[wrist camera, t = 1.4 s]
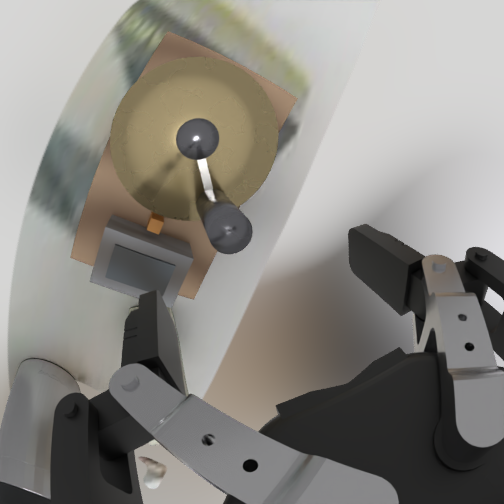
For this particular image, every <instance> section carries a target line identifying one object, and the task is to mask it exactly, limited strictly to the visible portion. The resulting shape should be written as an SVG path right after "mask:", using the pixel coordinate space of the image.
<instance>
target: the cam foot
mask: <svg viewBox="0 0 504 504" xmlns="http://www.w3.org/2000/svg"><path fill="white" fill-rule="evenodd" d="M277 146H278V124H277V119H276V115H275V111H274V108H273V106H272V103H271V101H270V99H269V97H268V96H267V94H266V92H265V91H264V90H263V88H262V87H261V86H260V84H259V83H258V82H257V81H256V80H255V79H254V78H253V77H252V76H250V75H249V74H248V73H246V72H245V71H244V70H242V69H240V68H239V67H237V66H235V65H233V64H231V63H228V62H225V61H223V60H219V59H214V58H208V57H187V58H181V59H176V60H173V61H170V62H167V63H164V64H162V65H160V66H158V67H156V68H154V69H153V70H151V71H149V72H148V73H146V74H145V75H144V76H142V77H141V78H140V79H139V80H138V81H137V82H136V83H135V84H134V85H133V86H132V87H131V88H130V89H129V90H128V92H127V93H126V95H125V96H124V97H123V99H122V101H121V103H120V105H119V106H118V108H117V111H116V113H115V116H114V119H113V123H112V128H111V135H110V150H111V157H112V162H113V166H114V168H115V171H116V174H117V176H118V178H119V180H120V181H121V183H122V185H123V186H124V188H125V189H126V190H127V192H128V193H129V194H130V195H131V196H132V197H133V198H134V199H135V200H136V201H137V202H138V203H140V204H141V205H142V206H144V207H145V208H147V209H148V210H150V211H152V212H154V213H156V214H158V215H161V216H163V217H167V218H170V219H175V220H182V221H199V220H201V221H202V224H203V226H204V229H205V231H206V233H207V236H208V238H209V240H210V243H211V245H212V246H213V247H214V248H215V249H216V250H217V251H219V252H221V253H224V254H234V253H237V252H239V251H241V250H243V249H244V248H245V247H246V246H247V245H248V243H249V242H250V240H251V237H252V225H251V223H250V221H249V220H248V219H247V217H246V216H245V215H244V214H243V213H242V212H241V211H240V210H239V209H238V208H237V207H239V206H240V205H242V204H243V203H244V202H246V201H247V200H248V199H249V198H250V197H251V196H252V195H253V194H254V193H255V192H256V191H257V190H258V189H259V188H260V186H261V185H262V184H263V182H264V181H265V179H266V178H267V176H268V174H269V172H270V170H271V168H272V165H273V163H274V160H275V156H276V152H277Z"/></svg>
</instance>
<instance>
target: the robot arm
mask: <svg viewBox="0 0 504 504" xmlns="http://www.w3.org/2000/svg"><path fill="white" fill-rule="evenodd" d="M348 239H349V264H350V267H351V269H352V271H353V273H354V274H355V275H356V276H357V277H358V278H359V279H361V280H362V281H363V282H364V283H365V284H366V285H367V286H369V287H370V288H371V289H372V290H373V291H374V292H375V293H376V294H378V295H379V296H380V297H381V298H382V299H383V300H384V301H385V302H387V303H388V304H389V305H390V306H391V307H392V308H393V309H394V310H395V311H396V312H397V313H398V314H399V315H401V316H402V315H404V314H406V313H408V312H409V311H413V317H412V323H413V335H414V353H410V354H405V353H404V352H403V351H402V349H401V348H400V347H399V348H397V349H395V350H394V351H392V352H390V353H388V354H387V355H385V356H383V357H381V358H379V359H377V360H375V361H374V362H372V363H371V364H370V365H369V366H368V367H367V368H366V369H365V370H363V371H362V372H361V373H360V374H359V375H358V376H357V377H355V378H354V379H353V380H352V381H350V382H349V383H347V384H344V385H340V386H336V387H331V388H327V389H321V390H316V391H312V392H309V393H306V394H303V395H301V396H298V397H296V398H294V399H291V400H288V401H286V402H283V403H280V404H278V405H276V408H277V412H278V415H277V416H276V417H274V418H273V419H272V420H270V421H269V422H268V423H267V424H265V425H264V426H263V427H262V428H261V429H260V430H259V431H258V432H257V431H255V430H253V429H251V428H250V427H248V426H246V425H244V424H242V423H240V422H238V421H237V420H235V419H233V418H231V417H230V416H228V415H226V414H225V413H223V412H221V411H220V410H218V409H216V408H215V407H213V406H211V405H210V404H208V403H206V402H205V401H203V400H202V399H200V398H198V397H197V396H195V395H193V394H189V395H188V396H186V392H185V386H184V380H183V374H182V367H181V360H180V353H179V345H178V338H177V332H176V328H175V325H174V322H173V320H172V318H171V316H170V313H169V311H168V309H167V307H166V305H165V302H164V300H163V298H162V296H161V293H160V292H159V290H154V291H151V292H148V293H144V294H141V295H140V296H139V308H138V309H136V310H133V311H131V312H130V314H129V316H128V317H127V319H126V321H125V329H124V331H125V332H124V340H123V350H122V363H121V368H120V369H119V370H117V371H116V372H115V373H114V375H113V376H112V378H111V380H110V382H109V389H108V390H107V391H105V392H103V393H101V394H99V395H98V396H96V397H94V398H92V399H90V400H88V399H87V398H86V397H85V396H84V395H83V394H81V393H80V388H79V386H78V384H77V382H76V381H75V379H74V378H73V377H72V376H71V375H70V374H68V373H67V372H66V371H65V370H63V369H62V368H60V367H58V366H57V365H54V364H52V363H50V362H47V361H44V360H39V359H29V360H25V361H24V362H22V363H21V364H20V366H19V369H18V371H17V374H16V377H15V380H14V383H13V386H12V388H11V392H10V395H9V398H8V402H7V405H6V409H5V412H4V416H3V420H2V424H1V428H0V504H143V501H142V496H141V491H140V487H139V480H138V475H137V468H136V462H135V455H134V450H135V449H137V448H138V447H140V446H143V445H145V444H146V443H148V442H150V441H152V440H154V439H155V440H156V441H157V442H158V443H159V444H160V445H162V446H163V447H164V448H165V449H166V450H168V451H169V452H170V453H171V454H172V455H173V456H175V457H176V458H177V459H178V460H180V461H181V462H182V463H184V464H185V465H186V466H187V467H189V468H190V469H191V470H193V471H194V472H195V473H196V474H198V475H199V476H200V477H202V478H203V479H204V480H206V481H207V482H209V483H210V484H212V485H213V486H214V487H216V488H217V489H219V490H220V491H222V492H223V493H225V494H227V496H226V499H225V501H224V503H223V504H504V368H503V367H498V366H497V364H496V360H495V356H494V352H493V350H494V351H495V352H496V353H497V354H498V355H499V356H500V357H501V358H502V359H503V360H504V312H503V314H502V315H501V314H500V313H499V312H498V311H497V310H495V309H494V308H493V307H492V306H491V305H490V304H488V303H487V302H486V301H485V300H484V298H485V295H486V292H487V289H488V287H490V288H491V289H492V290H493V291H495V292H496V293H497V294H499V295H500V296H501V297H502V298H503V300H504V260H502V259H501V258H499V257H498V256H496V255H495V254H493V253H492V252H490V251H488V250H486V249H484V248H480V247H472V248H469V249H468V250H467V251H466V257H465V261H460V262H455V263H454V262H453V261H452V260H451V259H449V258H447V257H445V256H442V255H429V256H426V257H425V256H424V255H422V254H420V253H419V252H417V251H416V250H414V249H413V248H411V247H409V246H408V245H404V243H403V242H401V241H398V239H396V238H395V237H393V236H391V235H390V234H386V233H383V232H380V231H378V230H376V229H374V228H372V227H371V226H369V225H367V224H363V225H360V226H357V227H354V228H351V229H350V230H349V233H348Z"/></svg>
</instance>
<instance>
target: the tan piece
mask: <svg viewBox="0 0 504 504" xmlns="http://www.w3.org/2000/svg"><path fill="white" fill-rule="evenodd" d="M187 57H208V58H214V59H219V60H223V61H225V62H228V63H231V64H233V65H235V66H237V67H239V68H240V69H242V70H244V71H245V72H246V73H248V74H249V75H250V76H252V77H253V78H254V79H255V80H256V81H257V82H258V83H259V84H260V86H261V87H262V88H263V90H264V91H265V92H266V94H267V96H268V97H269V99H270V101H271V103H272V106H273V108H274V111H275V115H276V119H277V124H278V133H279V131H280V129H281V128H282V126H283V124H284V122H285V120H286V119H287V117H288V115H289V113H290V111H291V109H292V108H293V106H294V104H295V102H296V101H297V99H298V98H296V97H294V96H293V95H291V94H290V93H288V92H287V91H285V90H283V89H282V88H280V87H279V86H277V85H275V84H274V83H272V82H270V81H269V80H267V79H265V78H263V77H262V76H260V75H258V74H256V73H255V72H253V71H251V70H249V69H248V68H246V67H244V66H242V65H240V64H238V63H236V62H234V61H232V60H231V59H229V58H227V57H225V56H223V55H221V54H219V53H217V52H214V51H212V50H210V49H208V48H206V47H204V46H202V45H199V44H197V43H195V42H193V41H190V40H188V39H186V38H183V37H181V36H179V35H176V34H174V33H171V32H169V31H168V32H167V33H166V35H165V36H164V38H163V39H162V41H161V43H160V44H159V46H158V47H157V49H156V50H155V52H154V54H153V55H152V57H151V58H150V60H149V62H148V63H147V65H146V67H145V69H144V70H143V72H142V74H141V76H140V77H139V79H140V78H141V77H142V76H144V75H145V74H146V73H148V72H149V71H151V70H153V69H154V68H156V67H158V66H160V65H162V64H164V63H167V62H170V61H173V60H176V59H181V58H187ZM139 79H138V80H139ZM239 207H240V206H239ZM239 207H237V208H238V209H239ZM216 253H217V250H216V249H215V248H214V247H213V246H212V245H211V243H210V240H209V238H208V236H207V233H206V231H205V229H204V226H203V224H202V221H201V220H199V221H182V220H175V219H170V218H167V217H163V216H161V215H158V214H156V213H154V212H152V211H150V210H148V209H147V208H145V207H144V206H142V205H141V204H140V203H138V202H137V201H136V200H135V199H134V198H133V197H132V196H131V195H130V194H129V193H128V192H127V190H126V189H125V188H124V186H123V185H122V183H121V181H120V180H119V178H118V176H117V174H116V171H115V168H114V166H113V162H112V157H111V150H110V138H109V140H108V143H107V145H106V148H105V150H104V152H103V155H102V157H101V160H100V163H99V165H98V168H97V170H96V173H95V176H94V179H93V181H92V184H91V187H90V190H89V193H88V196H87V199H86V202H85V205H84V209H83V212H82V215H81V219H80V222H79V226H78V229H77V233H76V237H75V241H74V245H73V249H72V253H71V257H70V258H72V259H75V260H78V261H80V262H83V263H86V264H88V265H91V266H94V267H93V271H92V275H91V279H90V282H92V283H95V284H98V285H101V286H103V287H106V288H109V289H112V290H115V291H118V292H121V293H124V294H127V295H130V296H133V297H136V298H139V296H140V295H141V294H144V293H148V292H151V291H154V290H159V292H160V293H161V296H162V298H163V300H164V302H165V305H166V307H169V308H172V306H173V304H174V302H175V299H176V297H177V295H181V296H184V297H187V298H190V299H194V298H195V296H196V294H197V292H198V290H199V288H200V285H201V283H202V281H203V279H204V277H205V275H206V273H207V271H208V269H209V267H210V265H211V263H212V261H213V259H214V257H215V255H216Z"/></svg>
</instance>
